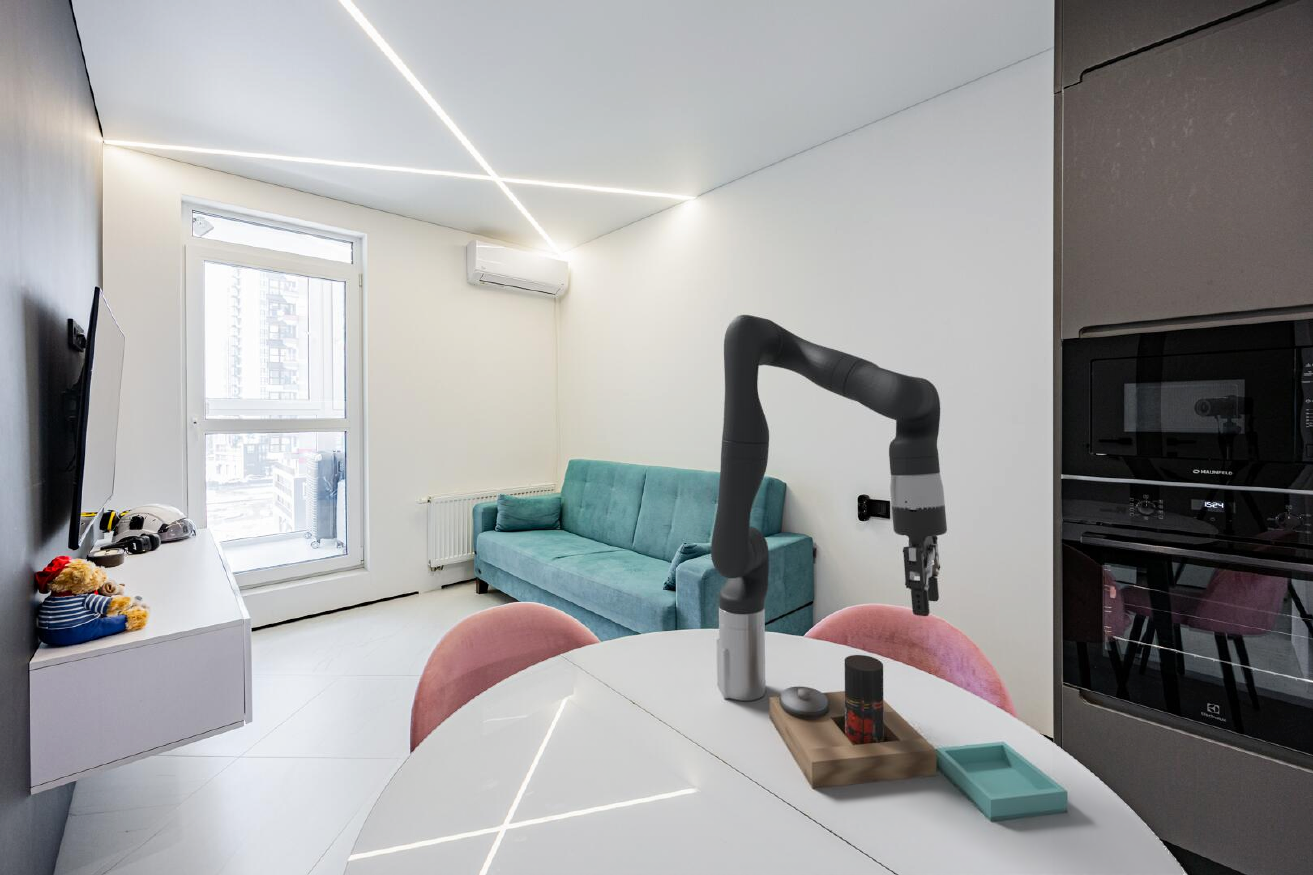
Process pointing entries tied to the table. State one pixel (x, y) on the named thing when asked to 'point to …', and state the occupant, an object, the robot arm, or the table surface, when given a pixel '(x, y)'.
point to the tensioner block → (846, 741)
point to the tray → (1001, 781)
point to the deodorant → (864, 700)
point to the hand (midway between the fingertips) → (926, 607)
